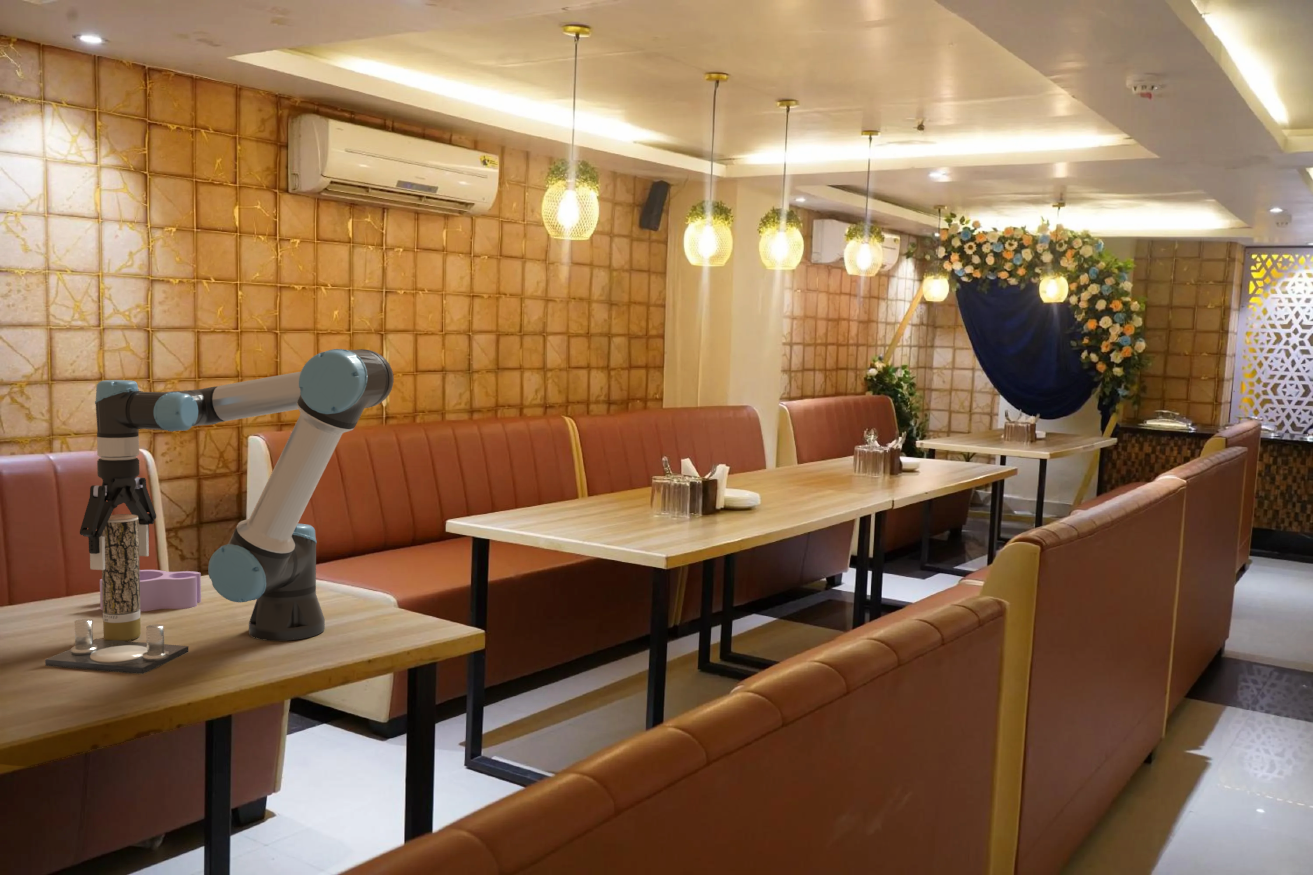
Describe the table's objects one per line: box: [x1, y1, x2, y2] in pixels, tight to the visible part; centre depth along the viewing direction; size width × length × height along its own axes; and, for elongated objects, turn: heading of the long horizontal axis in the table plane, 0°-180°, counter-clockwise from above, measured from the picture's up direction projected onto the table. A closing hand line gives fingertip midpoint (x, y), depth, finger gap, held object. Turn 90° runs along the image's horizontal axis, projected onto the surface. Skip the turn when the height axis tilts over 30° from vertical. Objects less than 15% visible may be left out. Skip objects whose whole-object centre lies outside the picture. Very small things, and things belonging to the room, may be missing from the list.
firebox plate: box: [44, 638, 189, 675], centre depth 203 cm, size 20×14×1 cm
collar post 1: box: [70, 618, 97, 655], centre depth 203 cm, size 4×4×6 cm
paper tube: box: [101, 513, 142, 642], centre depth 215 cm, size 7×7×25 cm
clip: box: [99, 569, 202, 613], centre depth 242 cm, size 20×12×7 cm, turn 100°
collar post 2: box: [143, 623, 169, 661], centre depth 200 cm, size 4×4×6 cm
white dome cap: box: [90, 645, 147, 663], centre depth 202 cm, size 10×10×1 cm
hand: (120, 562), depth 214 cm, fingers open, 13 cm apart
